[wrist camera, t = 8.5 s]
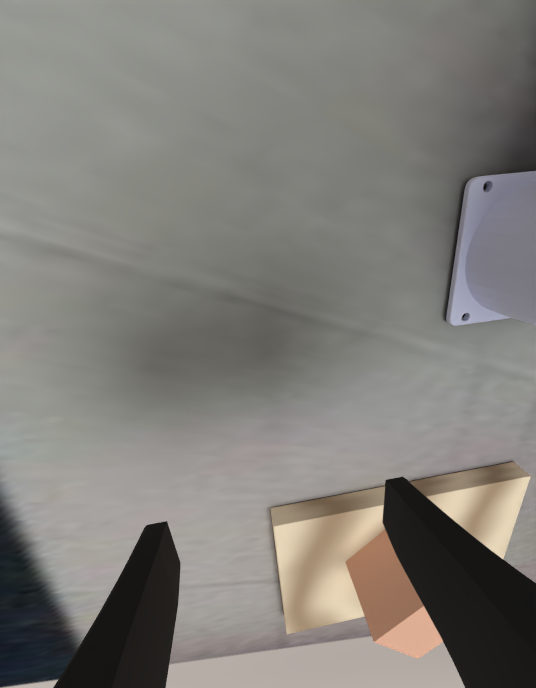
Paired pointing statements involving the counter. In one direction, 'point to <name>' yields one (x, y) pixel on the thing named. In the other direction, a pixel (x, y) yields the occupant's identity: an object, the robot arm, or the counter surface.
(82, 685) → the robot arm
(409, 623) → the terracotta cube
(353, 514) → the birch board
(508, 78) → the counter surface
